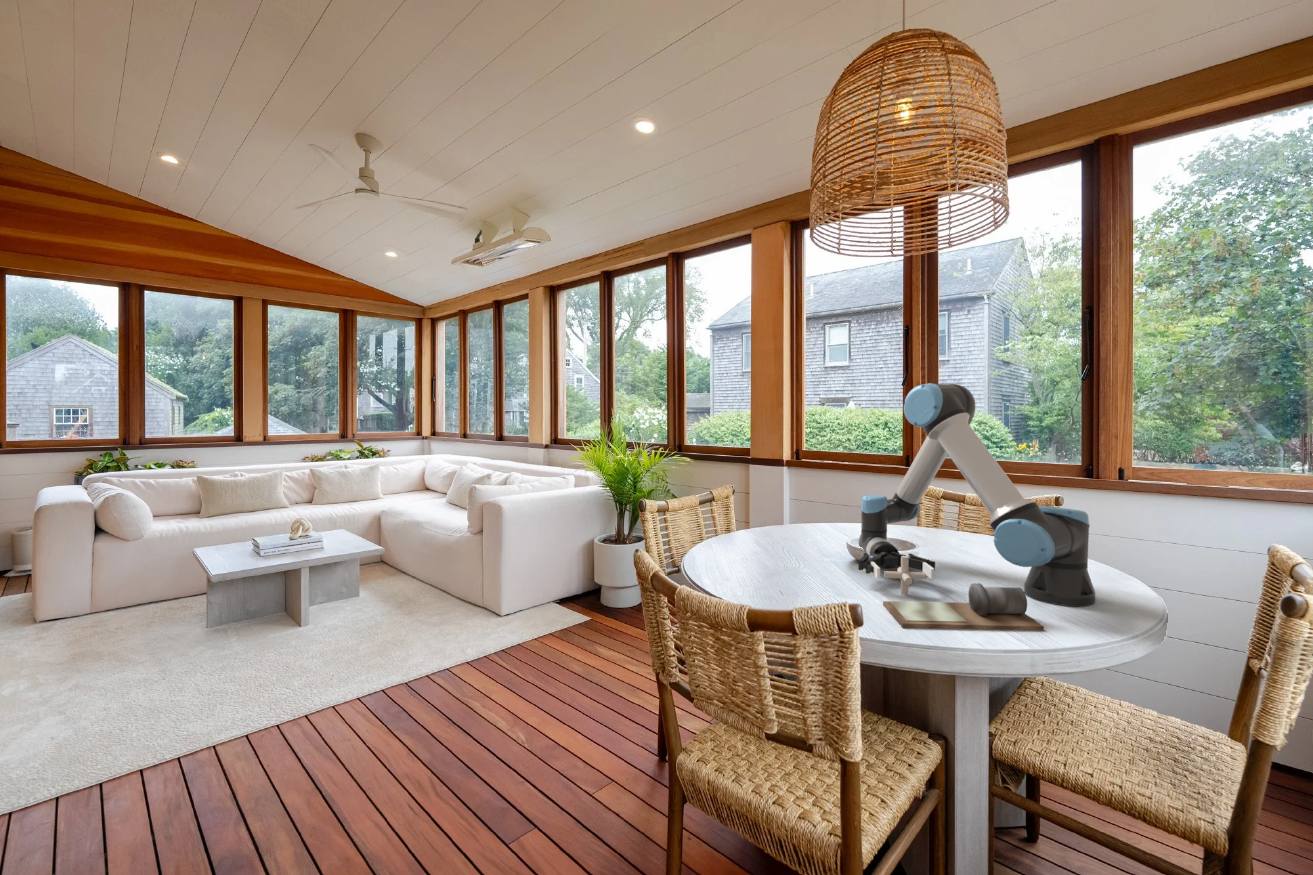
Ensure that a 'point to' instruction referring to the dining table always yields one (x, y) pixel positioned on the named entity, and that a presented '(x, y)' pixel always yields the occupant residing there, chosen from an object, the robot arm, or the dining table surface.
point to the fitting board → (969, 611)
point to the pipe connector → (904, 575)
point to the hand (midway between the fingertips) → (905, 573)
